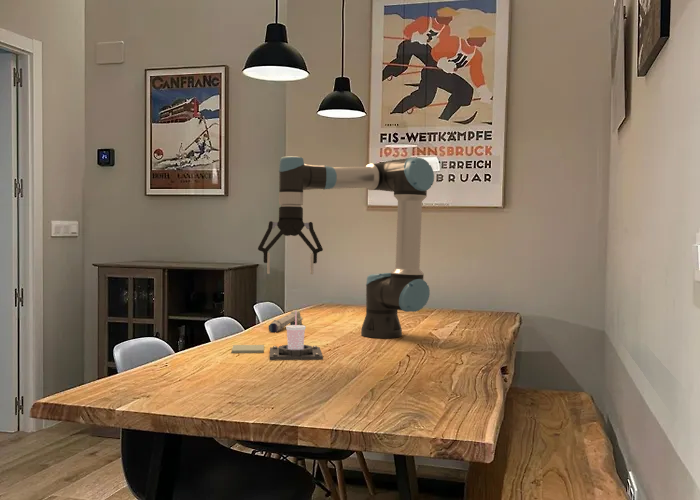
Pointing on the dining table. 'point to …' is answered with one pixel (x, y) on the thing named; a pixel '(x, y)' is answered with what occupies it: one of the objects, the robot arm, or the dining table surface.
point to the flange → (295, 353)
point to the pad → (248, 349)
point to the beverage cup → (295, 335)
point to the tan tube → (285, 321)
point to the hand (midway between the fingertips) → (290, 273)
